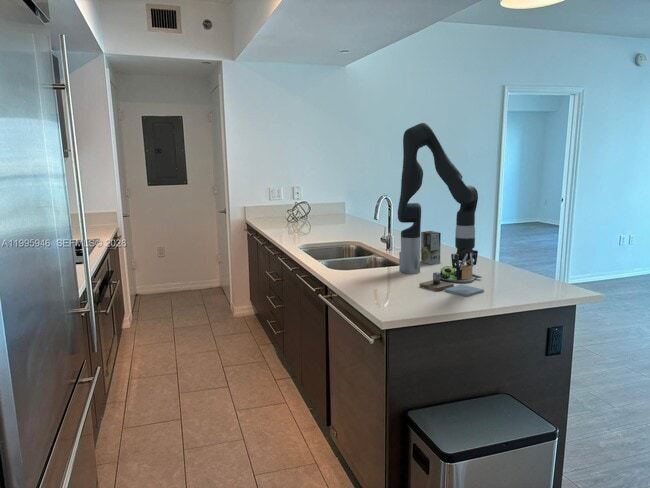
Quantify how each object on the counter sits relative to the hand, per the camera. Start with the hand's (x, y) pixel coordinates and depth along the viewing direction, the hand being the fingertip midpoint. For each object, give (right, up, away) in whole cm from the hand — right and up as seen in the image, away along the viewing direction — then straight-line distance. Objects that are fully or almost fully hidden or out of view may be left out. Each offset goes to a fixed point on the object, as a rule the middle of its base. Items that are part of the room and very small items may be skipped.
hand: (464, 277), depth 192 cm
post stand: (-9, -5, +9) cm, 14 cm away
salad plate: (+3, -3, +23) cm, 24 cm away
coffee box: (-1, +4, +57) cm, 57 cm away
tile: (0, -6, +1) cm, 6 cm away
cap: (0, 0, 0) cm, 0 cm away
